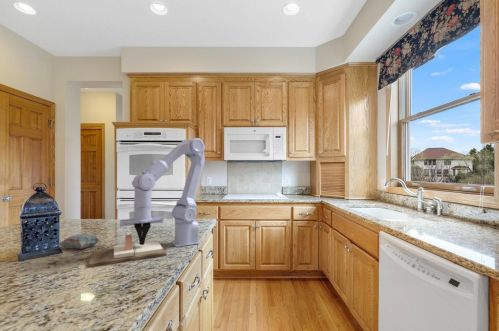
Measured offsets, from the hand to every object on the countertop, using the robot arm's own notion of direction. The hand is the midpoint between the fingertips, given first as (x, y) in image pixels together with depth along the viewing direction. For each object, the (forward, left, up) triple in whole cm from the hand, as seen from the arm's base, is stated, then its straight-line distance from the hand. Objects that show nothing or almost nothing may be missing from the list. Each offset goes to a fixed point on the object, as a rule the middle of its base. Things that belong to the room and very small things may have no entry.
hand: (141, 244), depth 89 cm
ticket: (-2, 0, -3) cm, 4 cm away
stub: (+6, 0, -2) cm, 6 cm away
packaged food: (+21, -18, -4) cm, 28 cm away
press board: (+4, 0, -3) cm, 5 cm away
